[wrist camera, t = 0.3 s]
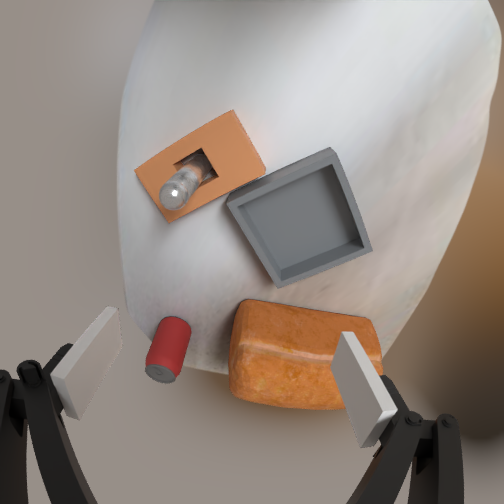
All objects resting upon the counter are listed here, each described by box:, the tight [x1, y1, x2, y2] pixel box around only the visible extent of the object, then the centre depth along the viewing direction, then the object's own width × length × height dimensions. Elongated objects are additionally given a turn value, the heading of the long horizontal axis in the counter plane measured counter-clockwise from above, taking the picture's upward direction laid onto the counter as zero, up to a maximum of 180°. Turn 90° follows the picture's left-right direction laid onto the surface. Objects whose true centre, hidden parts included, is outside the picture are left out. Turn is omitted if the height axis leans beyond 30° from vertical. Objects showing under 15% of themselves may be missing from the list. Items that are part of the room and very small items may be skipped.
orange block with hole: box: [134, 110, 266, 223], centre depth 36 cm, size 15×9×3 cm, turn 118°
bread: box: [228, 299, 383, 410], centre depth 46 cm, size 14×26×16 cm, turn 79°
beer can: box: [145, 317, 191, 383], centre depth 49 cm, size 7×7×12 cm
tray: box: [226, 147, 373, 288], centre depth 39 cm, size 15×15×4 cm
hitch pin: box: [159, 154, 212, 210], centre depth 32 cm, size 3×3×14 cm
